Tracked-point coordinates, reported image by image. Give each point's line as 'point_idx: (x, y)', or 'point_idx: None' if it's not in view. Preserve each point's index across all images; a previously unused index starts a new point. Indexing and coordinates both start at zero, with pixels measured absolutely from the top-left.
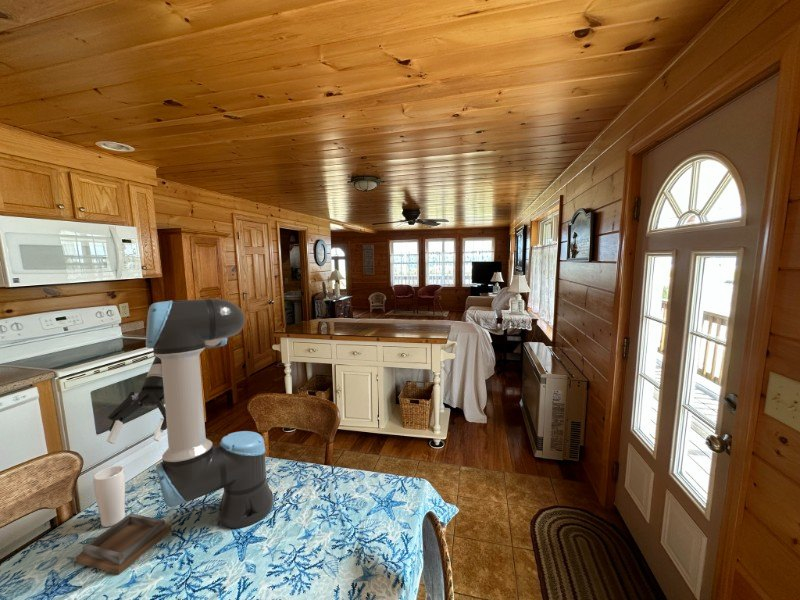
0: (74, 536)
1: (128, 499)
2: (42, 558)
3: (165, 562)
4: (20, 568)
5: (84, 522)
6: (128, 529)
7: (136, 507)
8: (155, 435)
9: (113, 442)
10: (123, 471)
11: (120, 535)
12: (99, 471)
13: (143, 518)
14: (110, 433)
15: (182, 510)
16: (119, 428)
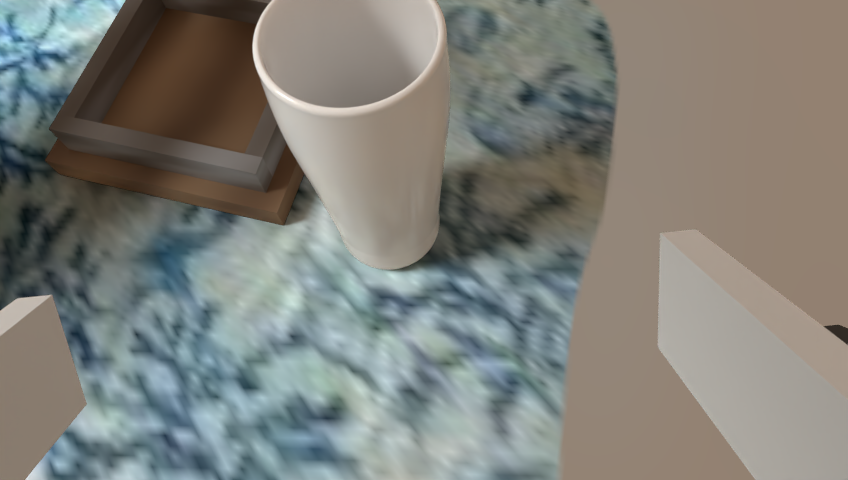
0: (498, 140)
1: (445, 397)
2: (517, 45)
3: (18, 39)
4: (553, 10)
5: (539, 219)
6: (239, 136)
7: (340, 325)
8: (3, 317)
9: (663, 334)
10: (261, 81)
11: (251, 105)
12: (441, 42)
13: (164, 139)
14: (740, 272)
15: (60, 299)
16: (763, 458)
